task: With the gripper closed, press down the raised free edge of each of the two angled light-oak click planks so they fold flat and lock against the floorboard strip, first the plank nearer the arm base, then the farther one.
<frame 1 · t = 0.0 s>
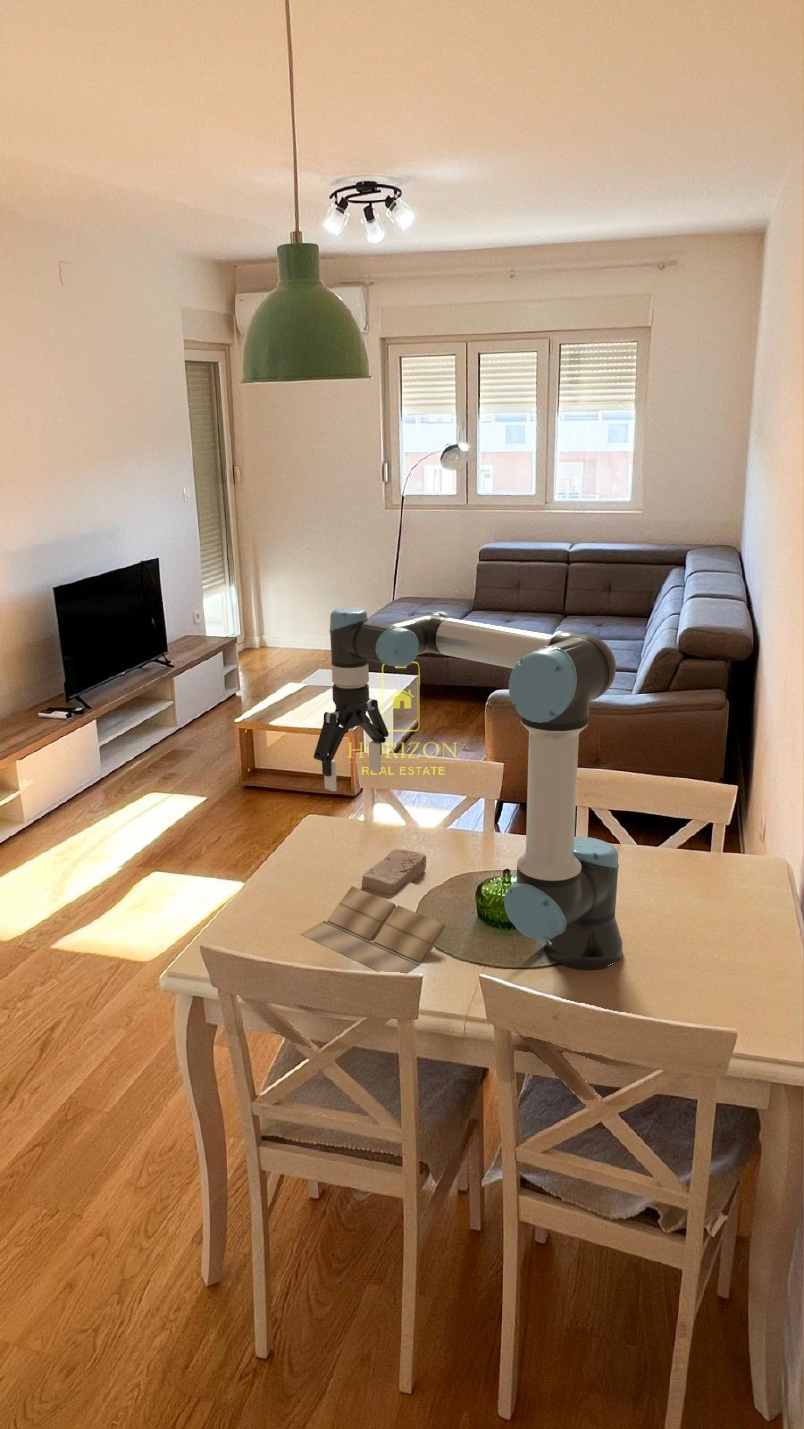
hand: (353, 780, 210), 28 cm above the table, fingers open, 13 cm apart
brick: (394, 883, 226), on the table
plank b: (361, 913, 205), point 3 cm above the table, hinge at 32.0°
floorboard: (358, 954, 197), on the table
plank a: (409, 934, 197), point 3 cm above the table, hinge at 32.0°
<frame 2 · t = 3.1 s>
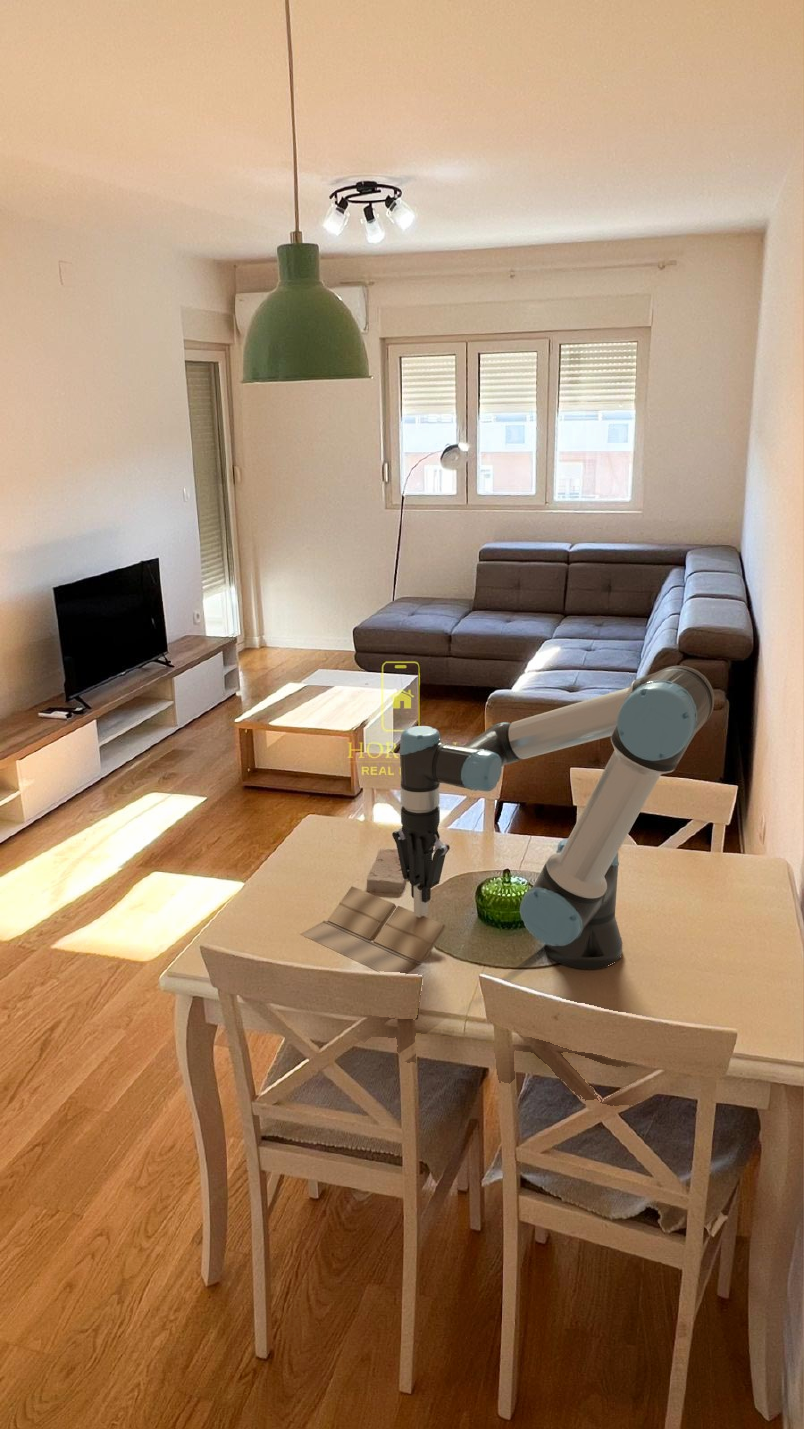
hand: (421, 913, 199), 6 cm above the table, fingers closed
plank a: (409, 934, 197), point 3 cm above the table, hinge at 31.3°, touching gripper
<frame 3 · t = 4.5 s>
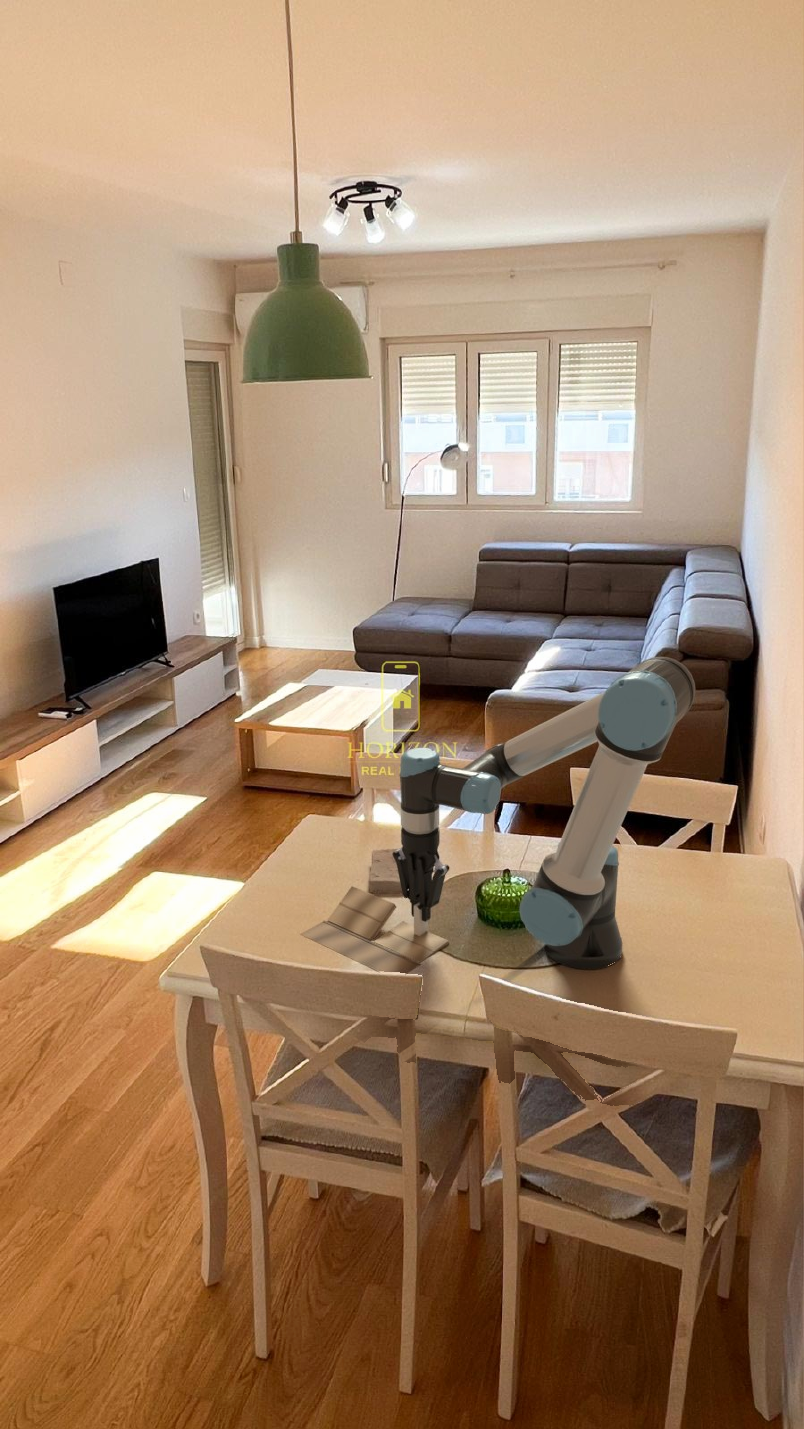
hand: (421, 932, 201), 2 cm above the table, fingers closed
plank a: (411, 943, 198), point 1 cm above the table, hinge at 4.3°, touching gripper
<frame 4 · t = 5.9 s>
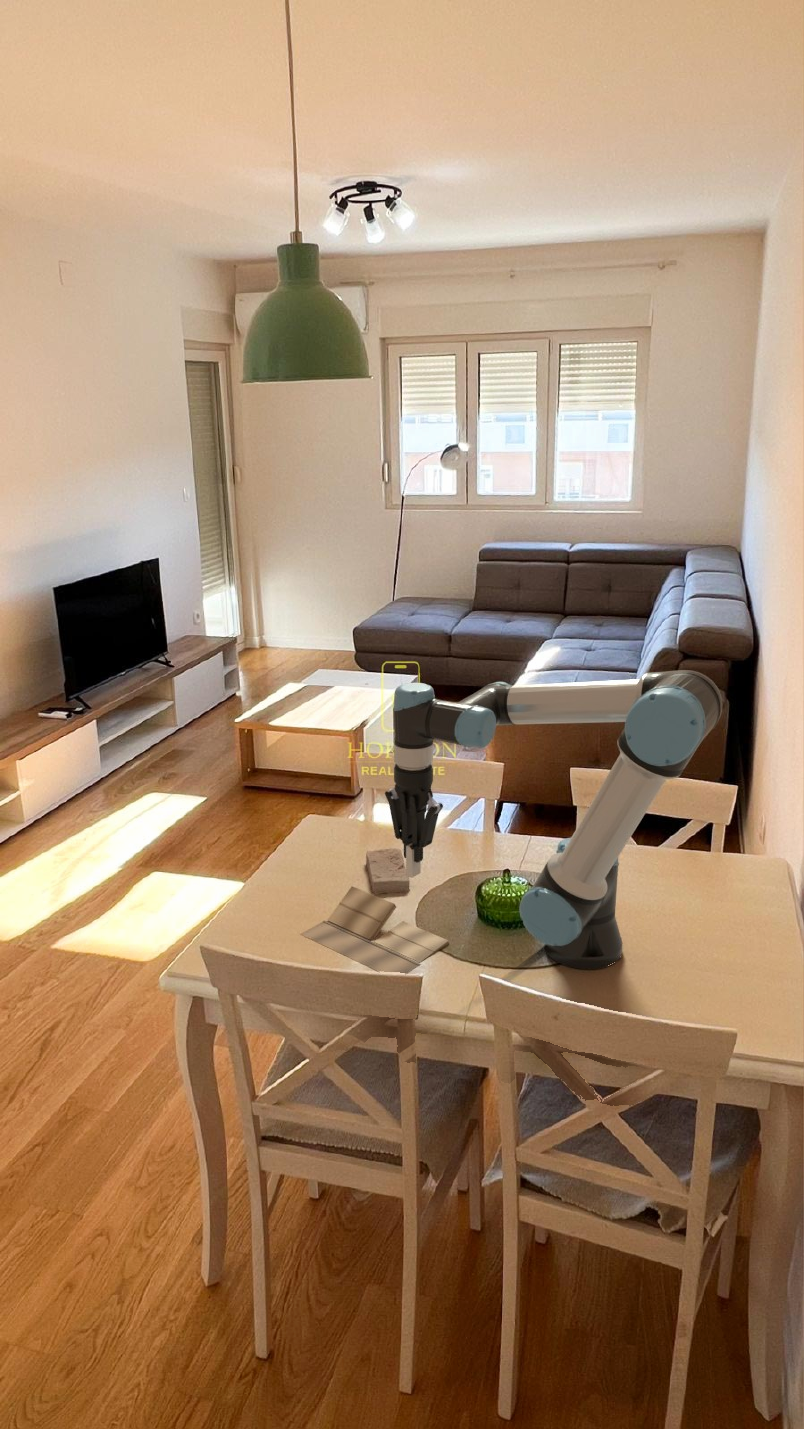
hand: (413, 874, 197), 15 cm above the table, fingers closed
plank a: (411, 943, 198), point 1 cm above the table, hinge at 4.2°
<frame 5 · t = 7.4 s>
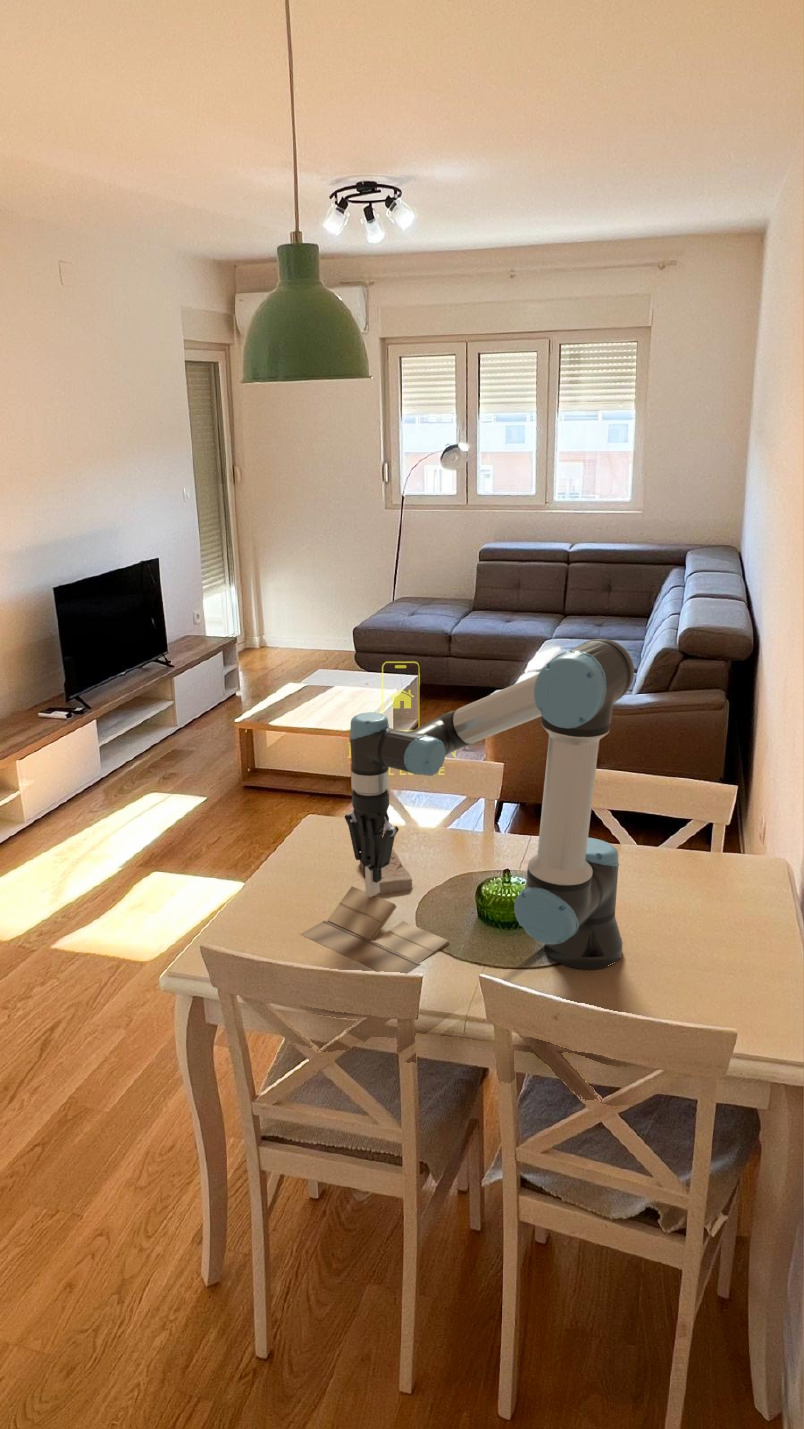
hand: (372, 893, 207), 7 cm above the table, fingers closed
plank b: (361, 913, 205), point 3 cm above the table, hinge at 31.9°, touching gripper
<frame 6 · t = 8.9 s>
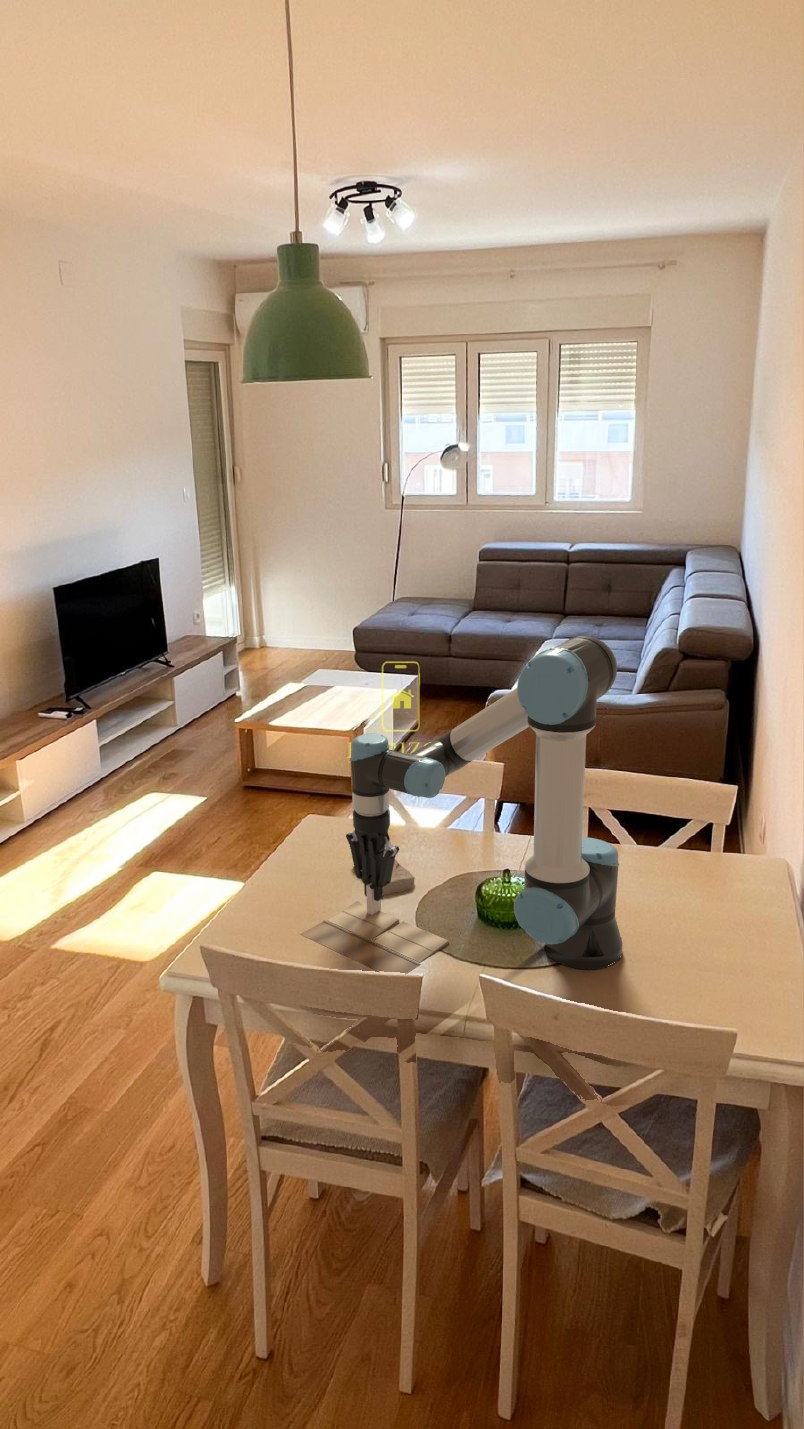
hand: (374, 911, 209), 2 cm above the table, fingers closed
plank b: (363, 922, 206), point 1 cm above the table, hinge at 4.7°, touching gripper
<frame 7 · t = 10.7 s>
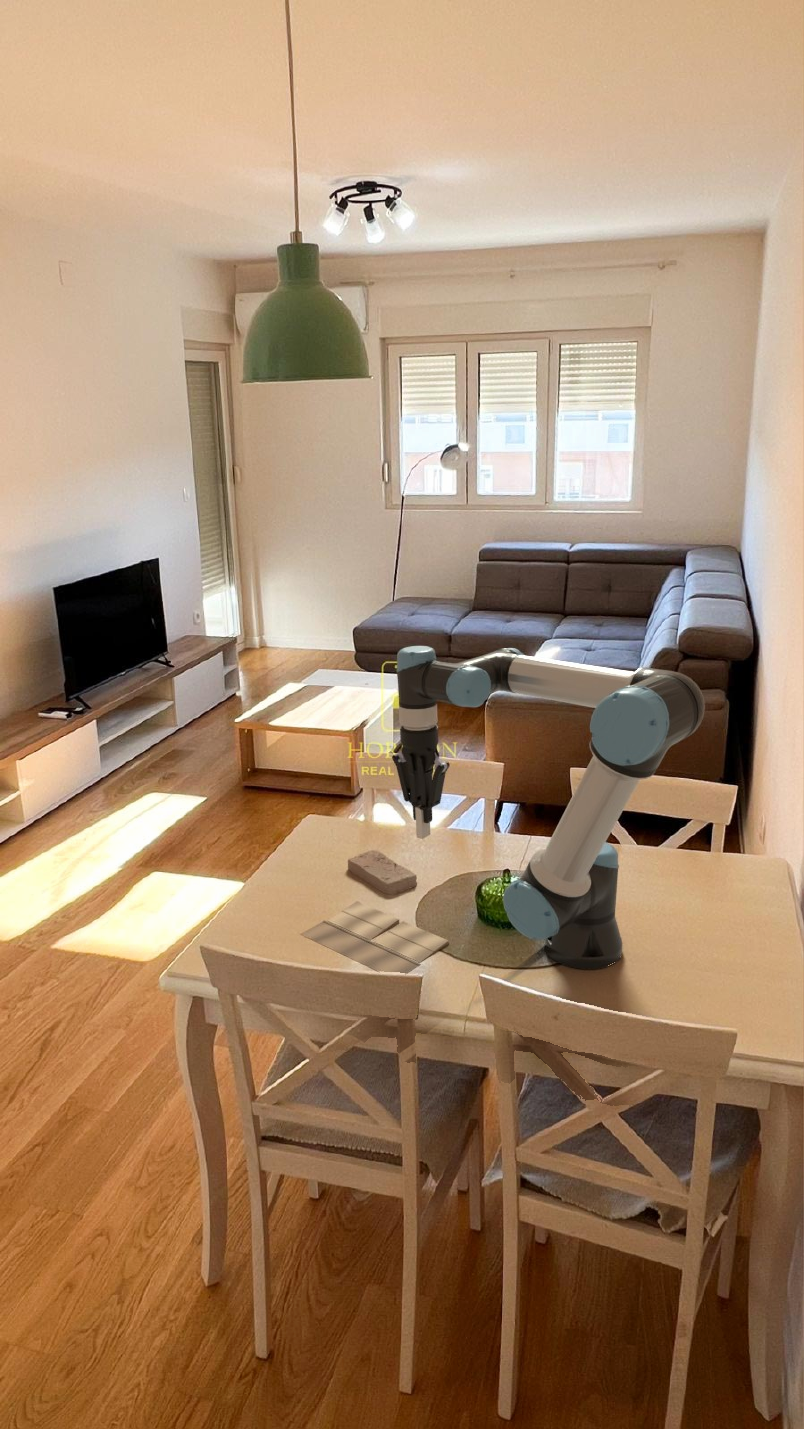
hand: (423, 835, 202), 20 cm above the table, fingers closed
plank b: (363, 922, 206), point 1 cm above the table, hinge at 4.7°
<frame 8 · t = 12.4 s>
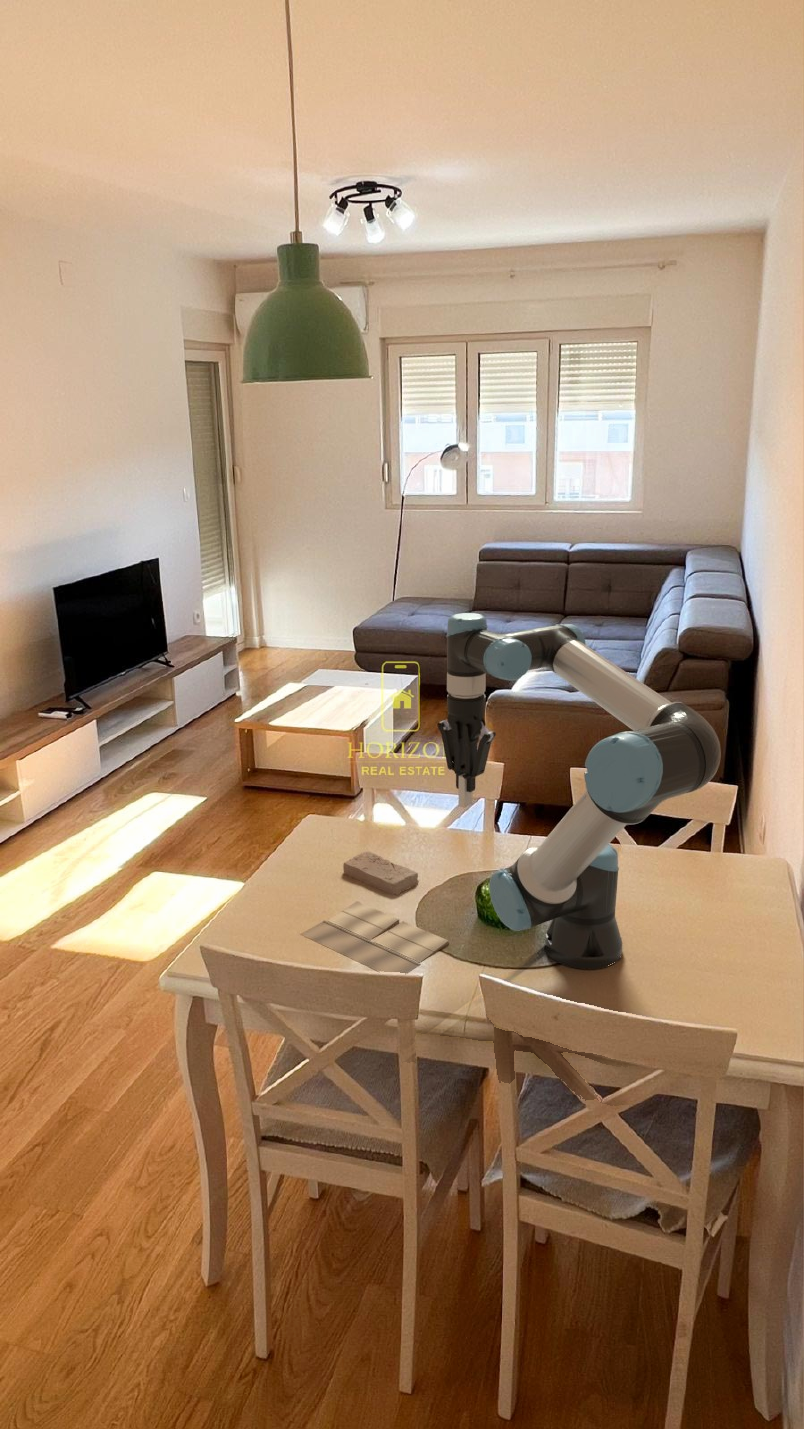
hand: (465, 804, 201), 26 cm above the table, fingers closed
at the end: plank a at +4° (first picture: +32°); plank b at +5° (first picture: +32°) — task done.
